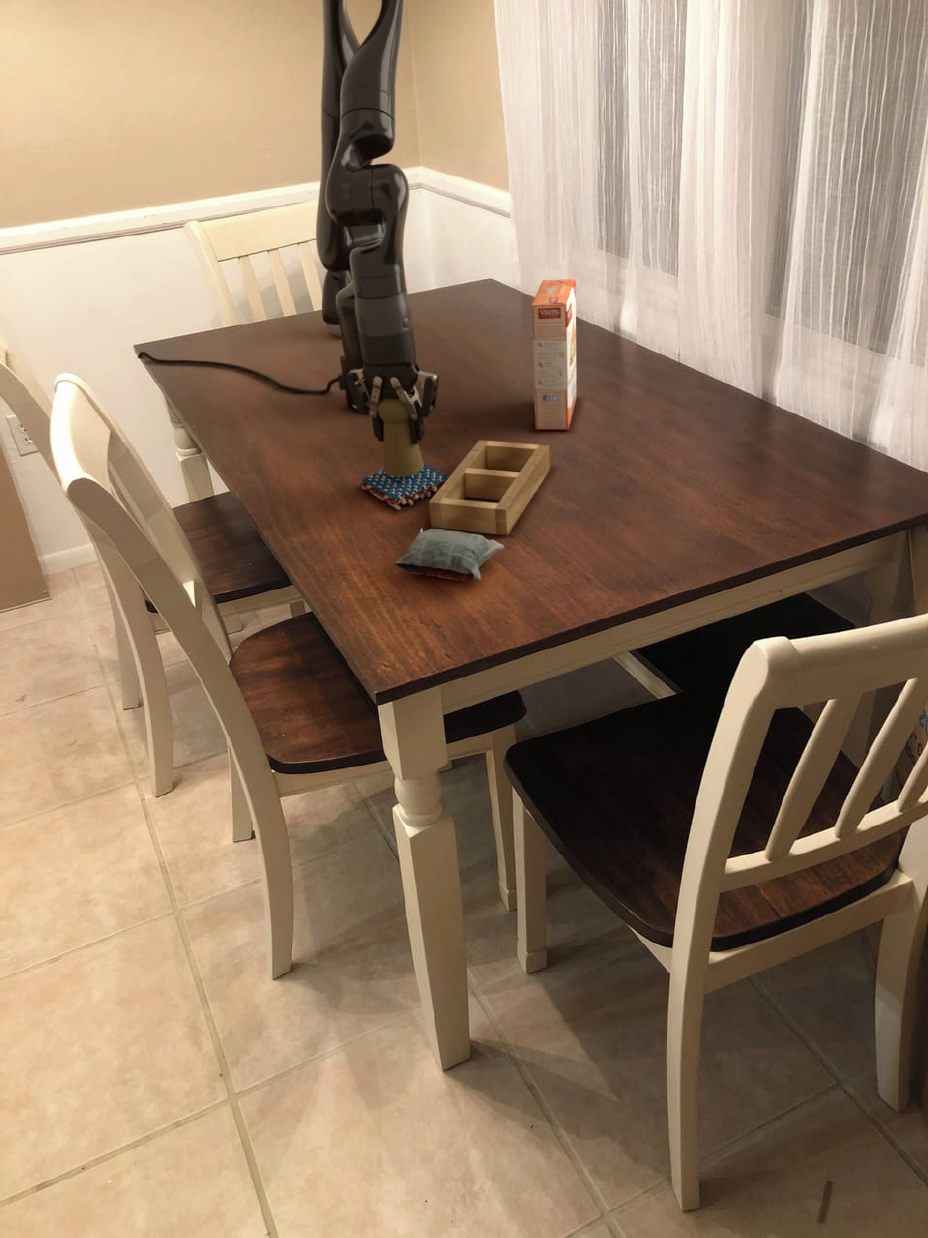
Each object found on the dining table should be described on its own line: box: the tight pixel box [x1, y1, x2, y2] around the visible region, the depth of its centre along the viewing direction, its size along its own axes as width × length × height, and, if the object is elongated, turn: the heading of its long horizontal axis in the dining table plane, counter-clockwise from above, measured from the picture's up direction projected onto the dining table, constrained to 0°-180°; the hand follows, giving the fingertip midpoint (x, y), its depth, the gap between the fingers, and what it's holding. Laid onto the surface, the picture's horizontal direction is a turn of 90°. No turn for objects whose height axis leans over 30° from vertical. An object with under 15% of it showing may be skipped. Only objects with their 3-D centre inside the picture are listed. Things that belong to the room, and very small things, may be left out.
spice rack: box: [428, 439, 551, 536], centre depth 138 cm, size 11×21×4 cm, turn 159°
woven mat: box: [360, 463, 450, 511], centre depth 143 cm, size 10×11×2 cm
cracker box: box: [531, 278, 577, 431], centre depth 156 cm, size 14×6×21 cm, turn 168°
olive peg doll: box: [378, 397, 425, 476], centre depth 139 cm, size 6×6×11 cm
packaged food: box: [394, 528, 505, 582], centre depth 122 cm, size 9×12×5 cm
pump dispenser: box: [321, 269, 352, 338], centre depth 205 cm, size 10×10×15 cm
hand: (400, 440), depth 139 cm, fingers closed on olive peg doll, 5 cm apart
